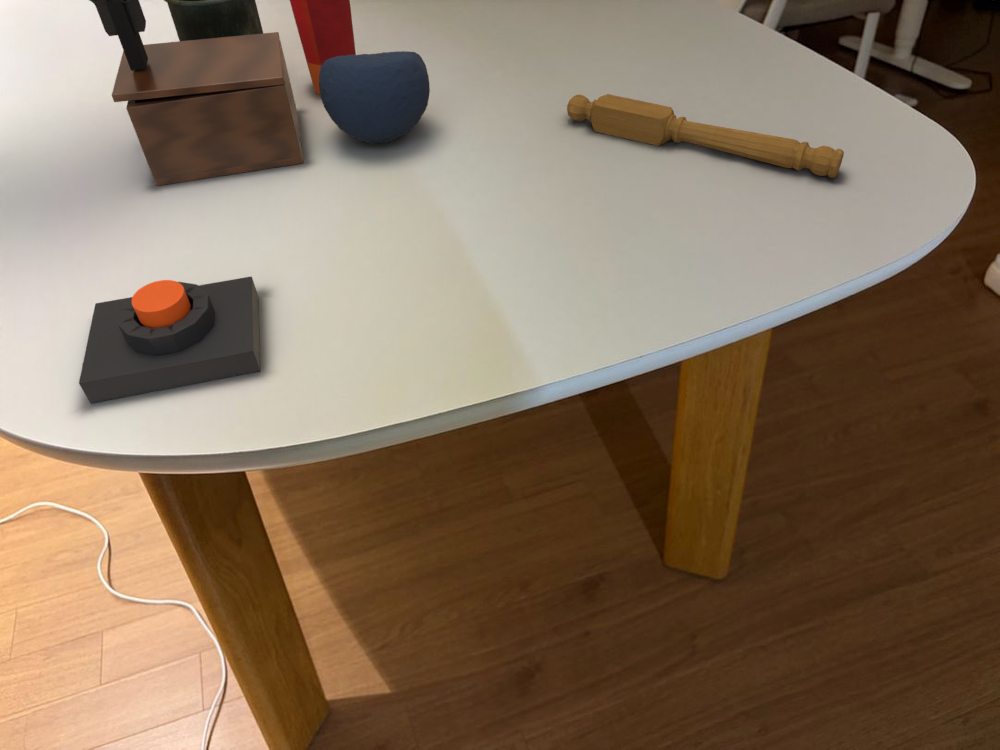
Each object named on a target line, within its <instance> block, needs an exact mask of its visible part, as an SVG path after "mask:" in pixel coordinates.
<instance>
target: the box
mask: <svg viewBox="0 0 1000 750" xmlns="http://www.w3.org/2000/svg"><path fill="white" fill-rule="evenodd" d="M280 45H281V55H282V65H283V75H284V84H283V85H274V86H264V87H255V88H245V89H236V90H226V91H217V92H208V93H198V94H189V95H179V96H170V97H160V98H151V99H141V100H132V101H127V102H126V103H127V104H126V107H125V108H126V111H127V114H128V116H129V119H130V122H131V124H132V126H133V130H134V132H135V134H136V137H137V139H138V142H139V144H140V147H141V150H142V152H143V155H144V157H145V160H146V162H147V165H148V168H149V170H150V172H151V176H152V178H153V180H154V183H155V185H156V187H159V186H166V185H172V184H178V183H185V182H190V181H198V180H203V179H204V180H205V179H210V178H217V177H223V176H229V175H236V174H242V173H249V172H255V171H261V170H268V169H273V168H280V167H286V166H287V167H288V166H293V165H301V164H304V158H303V157H304V156H303V149H302V142H301V141H302V140H301V132H300V124H299V117H298V116H299V114H298V110H297V106H296V101H295V96H294V93H293V88H292V84H291V79H290V75H289V72H288V67H287V63H286V58H285V54H284V51H283V50H284V49H283V45H282V41H281V40H280Z"/></svg>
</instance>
